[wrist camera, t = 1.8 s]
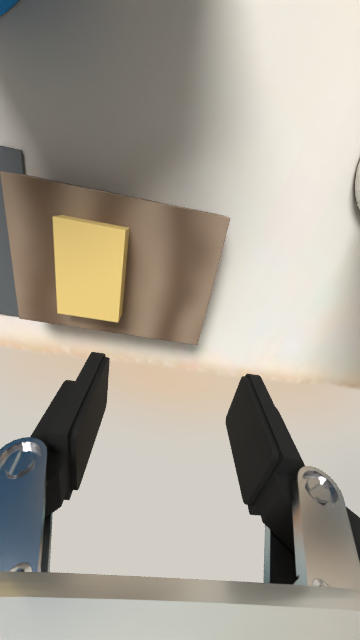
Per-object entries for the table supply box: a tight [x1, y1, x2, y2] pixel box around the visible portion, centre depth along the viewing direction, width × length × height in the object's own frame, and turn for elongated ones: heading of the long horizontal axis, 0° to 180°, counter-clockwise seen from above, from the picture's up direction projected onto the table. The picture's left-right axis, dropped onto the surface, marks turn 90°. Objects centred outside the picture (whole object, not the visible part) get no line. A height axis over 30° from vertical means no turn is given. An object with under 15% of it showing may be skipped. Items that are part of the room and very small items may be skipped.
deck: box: [0, 171, 230, 345], centre depth 26 cm, size 20×14×4 cm
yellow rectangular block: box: [53, 215, 129, 322], centre depth 23 cm, size 6×9×2 cm, turn 169°
